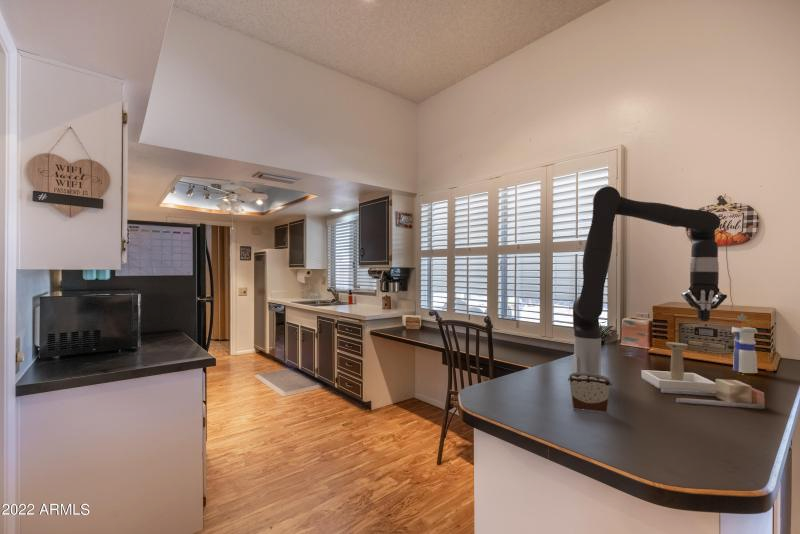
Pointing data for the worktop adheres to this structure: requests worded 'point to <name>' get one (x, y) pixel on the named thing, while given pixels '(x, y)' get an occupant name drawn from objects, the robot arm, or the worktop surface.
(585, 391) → the food container
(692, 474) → the worktop surface
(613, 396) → the worktop surface
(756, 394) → the track
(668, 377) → the tray
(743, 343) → the water bottle
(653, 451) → the worktop surface
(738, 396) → the block
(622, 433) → the worktop surface
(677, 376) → the handle
